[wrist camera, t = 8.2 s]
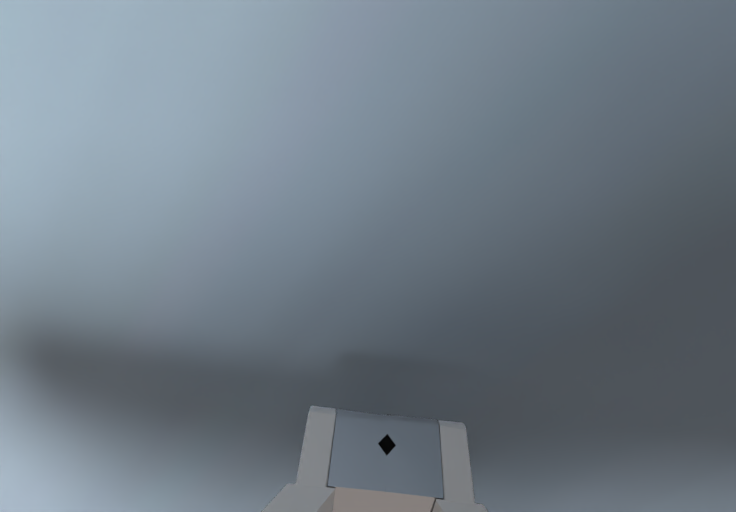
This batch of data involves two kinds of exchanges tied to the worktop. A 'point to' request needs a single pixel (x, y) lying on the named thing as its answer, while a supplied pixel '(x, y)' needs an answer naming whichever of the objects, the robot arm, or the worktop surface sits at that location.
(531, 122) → the worktop surface
